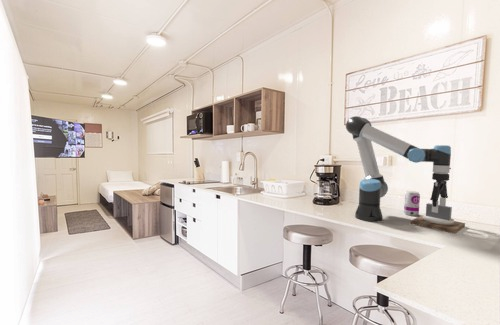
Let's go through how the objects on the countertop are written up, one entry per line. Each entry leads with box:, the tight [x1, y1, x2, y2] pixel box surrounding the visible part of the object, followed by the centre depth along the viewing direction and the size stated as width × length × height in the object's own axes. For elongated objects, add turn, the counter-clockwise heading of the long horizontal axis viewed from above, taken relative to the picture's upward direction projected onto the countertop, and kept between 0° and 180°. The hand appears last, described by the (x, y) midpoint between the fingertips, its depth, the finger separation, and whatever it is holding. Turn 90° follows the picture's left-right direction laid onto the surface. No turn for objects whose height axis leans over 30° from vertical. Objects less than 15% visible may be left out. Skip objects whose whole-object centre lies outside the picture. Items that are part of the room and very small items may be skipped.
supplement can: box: [403, 190, 421, 217], centre depth 164 cm, size 8×8×15 cm
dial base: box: [410, 215, 466, 234], centre depth 141 cm, size 20×20×2 cm
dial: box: [422, 202, 455, 225], centre depth 141 cm, size 14×14×9 cm
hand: (438, 210), depth 141 cm, fingers open, 13 cm apart
